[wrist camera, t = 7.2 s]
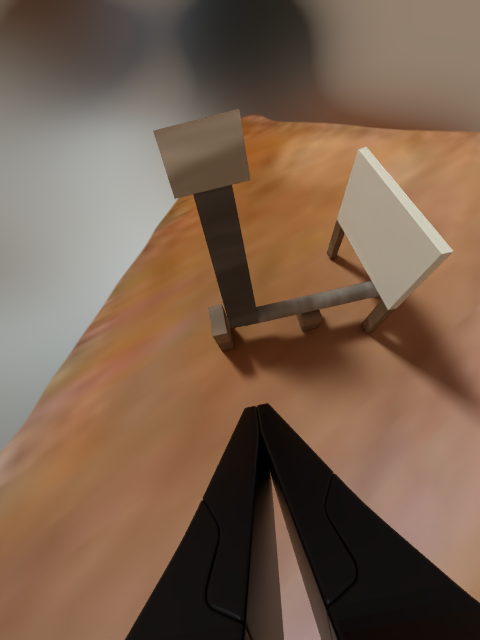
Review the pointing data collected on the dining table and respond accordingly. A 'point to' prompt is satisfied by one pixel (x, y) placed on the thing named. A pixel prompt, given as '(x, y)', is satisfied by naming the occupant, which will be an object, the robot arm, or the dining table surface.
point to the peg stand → (306, 319)
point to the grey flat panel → (388, 231)
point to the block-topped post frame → (230, 214)
